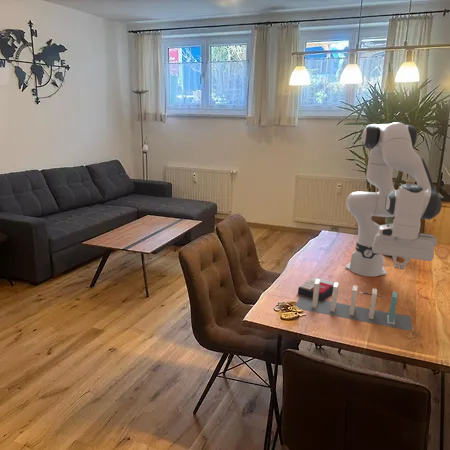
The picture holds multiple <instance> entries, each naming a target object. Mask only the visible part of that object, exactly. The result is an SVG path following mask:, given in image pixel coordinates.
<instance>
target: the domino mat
mask: <svg viewBox="0 0 450 450" xmlns="http://www.w3.org/2000/svg"><path fill="white" fill-rule="evenodd" d="M312 301H313V298H309V297H306V296H302V295H299V296H298V299H297V302H296V304H295V305H294V307H295V306H297V307H298V308H300V309H299V310H301V309H302V311H308V312H312V313H318V314H322V315H328V316H332V317H338V318H344V319H348V320H353V321H358V322H363V323H369V324H374V325H378V326H379V325H380V326H384V327H389V328H393V329H394V328H395V329H399V330H404V331H411V332H413V326H412V317H411V316H410V315H405V314H399V313H395V316H394V322H393V323H392V322H389V312H388V311H385V310H378V309H375V311H374V317H373V319H370V318H369V310H370V308H369V307H368V308H367V307H362V306H357V305H355V310H354V315H349V312H350V305H351V304H345V303H340V302H336V308H335V312H333V311H330V309H331V301H330V300H326V299H324V300H323V301H320V300H318V304H317V307H316V308H313V307H312Z"/></svg>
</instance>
